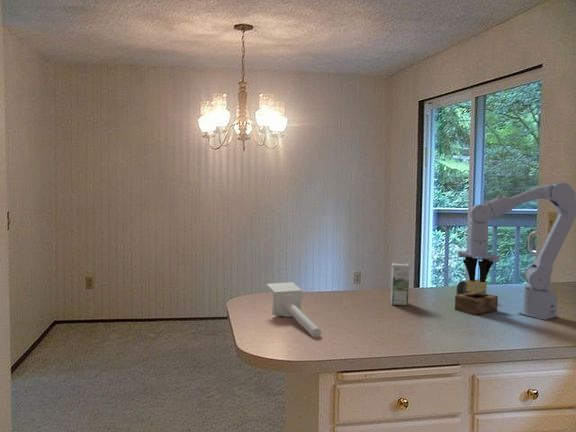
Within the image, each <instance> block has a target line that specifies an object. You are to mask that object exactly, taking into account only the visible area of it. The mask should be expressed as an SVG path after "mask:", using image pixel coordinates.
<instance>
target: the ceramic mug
mask: <svg viewBox="0 0 576 432" xmlns="http://www.w3.org/2000/svg"><path fill="white" fill-rule="evenodd" d="M466 289H467V280H465V279H464V280H463V279H462V280H460V281H459V282H458V283H457V285H456V290H455V295H459V294H465V293H470V292H471V291H466ZM480 293H484V294H487V290H486V291H482V292H480Z"/></svg>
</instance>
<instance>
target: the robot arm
mask: <svg viewBox="0 0 576 432" xmlns="http://www.w3.org/2000/svg"><path fill="white" fill-rule="evenodd" d="M538 199H540V200H548V201H549V202H551V204H553V205H554V208H555V210H556V211H557V216H556V218H555V221H554V222H553V225H552V227H551V229H550V231H549V233H548V235H547V236H546V239H545V241H544V243H543V245H542V247H541V249H540V251H539V253H538V256H537V257H536V258H535V259H534V260H533V262H532V263H531V265H530V266H529V267H527V268H526V269H525V271H524V274H523V275H524V280H525V281H526V284H525V285H524V295H523V296H524V297H523V299H524V300H523V310H522V311H517V314H519V315H522V316H527V317H531V318H535V319H540V320H548V319H553V318H557V317H558V314H557V311H558V309H557V307H558V295H557V293H556V292H555V291H553V290H550V287H549V286H550V283H551V282H552V281H551V275H552V273H553V267H554V262H555V261H556V259H557V257H558V254H559V253H560V250H561V248H562V246H563V245H564V243H565V240H566V238H567V236H568V235H569V232H570V230H571V228H572V226H573V225H574V222H575V220H576V192H575V190H574V188H572V186H571V185H570V184H568V183H566V182H552V183H550V184H544V185H540V186H537V187H534V188H532V189H529V190H526V191H524V192H521V193H518V194H516V195H513V196H511V197H509V196H508V195H507V196H506V195H501V194H499V195H497V196H496V198H493V199H491V200H488V201H486V200H484V201H482V204H476V205H473V207H472V208H470V211H469V216H470V218H471V219H470V220H471V221H470V227H469V228H470V229H469V230H470V231H469V251H464V250H460V251H459V250H458V253H457V254H458V255H457V257H458V258H464V259H462V262H463V264H464V265H465V268H466V271H467V275H468V280H476V268H477V263H478V268H479V280H480V282H485V281H487V278H488V274H489V271H490V270H491V268H492V266H493V265H494V263H499V262H500V256H499V255H495V254H489V253H488V249H489V248H488V247H489V220H490V218H491V219H493V218H497V217H500V216H503V215H505V214H508V213H511V212H512V211H513V209H514V207H517V206H519V205H523V204H526V203H528V202H533V201H536V200H538ZM478 260H479V261H478Z"/></svg>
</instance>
